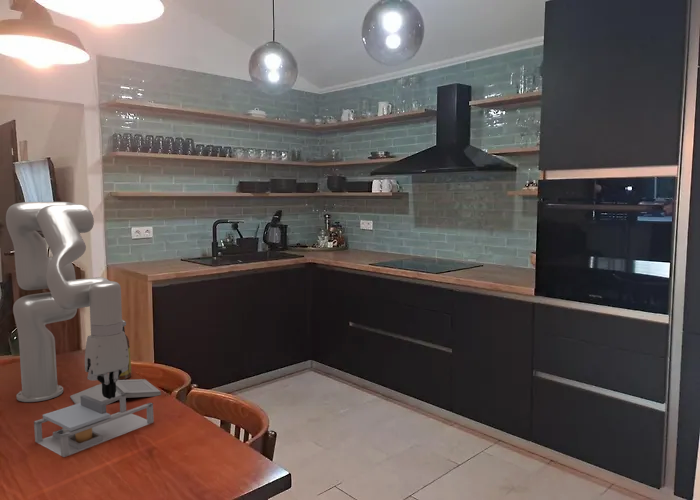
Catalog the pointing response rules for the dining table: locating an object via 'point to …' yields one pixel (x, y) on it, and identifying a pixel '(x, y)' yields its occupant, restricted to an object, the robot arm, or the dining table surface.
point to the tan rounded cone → (84, 435)
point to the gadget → (120, 390)
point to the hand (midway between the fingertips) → (109, 396)
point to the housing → (95, 429)
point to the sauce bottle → (128, 372)
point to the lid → (79, 414)
